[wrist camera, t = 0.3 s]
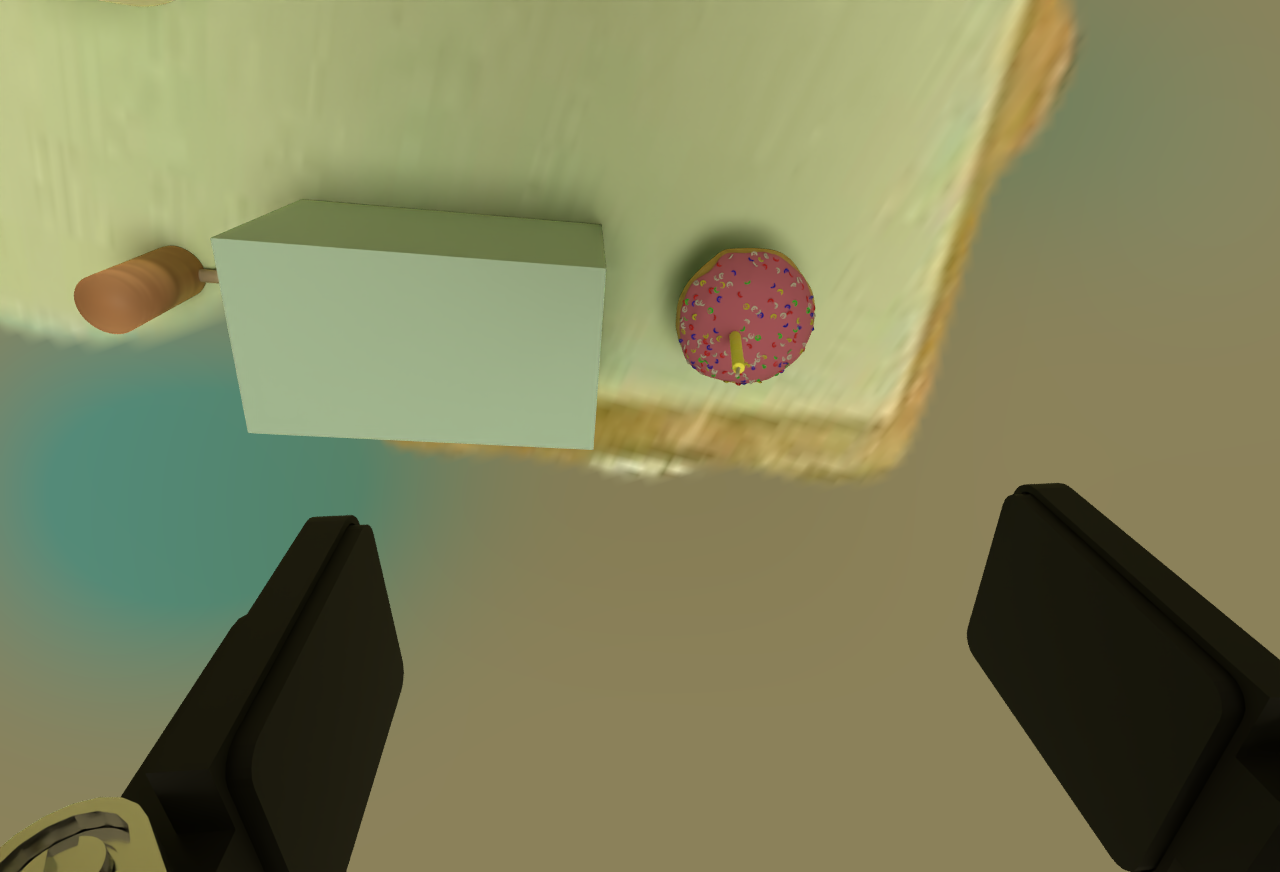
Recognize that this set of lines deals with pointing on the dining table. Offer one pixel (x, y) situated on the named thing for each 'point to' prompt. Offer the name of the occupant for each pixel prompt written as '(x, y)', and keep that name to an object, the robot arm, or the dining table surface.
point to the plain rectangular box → (415, 324)
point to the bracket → (139, 2)
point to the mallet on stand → (141, 289)
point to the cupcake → (745, 315)
